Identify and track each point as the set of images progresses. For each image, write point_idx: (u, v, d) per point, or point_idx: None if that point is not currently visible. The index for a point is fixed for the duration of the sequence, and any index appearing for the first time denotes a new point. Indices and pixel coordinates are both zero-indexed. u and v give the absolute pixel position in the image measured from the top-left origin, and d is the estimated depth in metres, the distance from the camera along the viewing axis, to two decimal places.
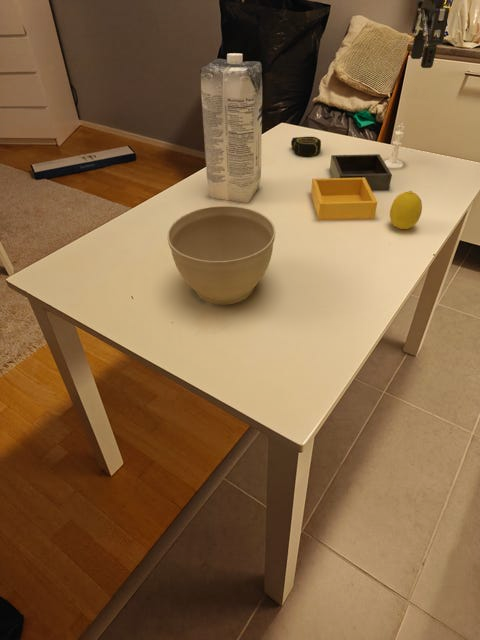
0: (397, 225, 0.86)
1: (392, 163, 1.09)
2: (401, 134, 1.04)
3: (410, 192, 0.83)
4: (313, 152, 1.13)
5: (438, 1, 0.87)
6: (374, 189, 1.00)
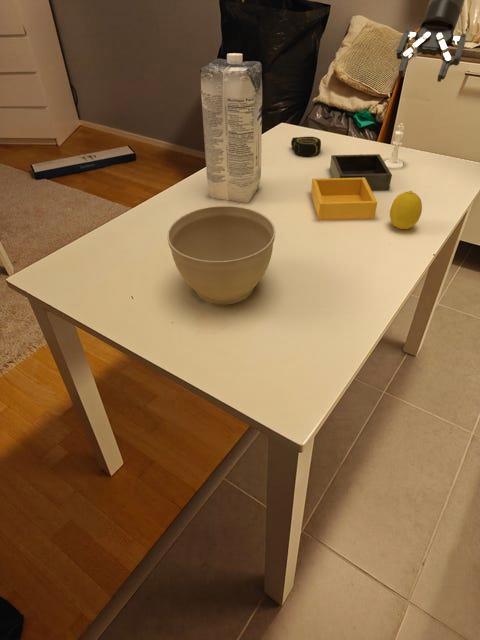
0: (397, 225, 0.86)
1: (392, 163, 1.09)
2: (401, 134, 1.04)
3: (410, 192, 0.83)
4: (313, 152, 1.13)
5: None
6: (374, 189, 1.00)
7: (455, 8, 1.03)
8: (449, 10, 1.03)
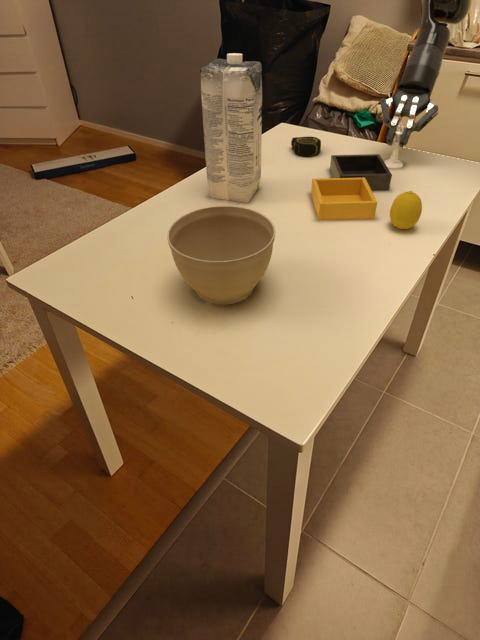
0: (397, 225, 0.86)
1: (392, 163, 1.09)
2: (401, 134, 1.04)
3: (410, 192, 0.83)
4: (313, 152, 1.13)
5: None
6: (374, 189, 1.00)
7: (431, 72, 1.01)
8: (425, 74, 1.01)
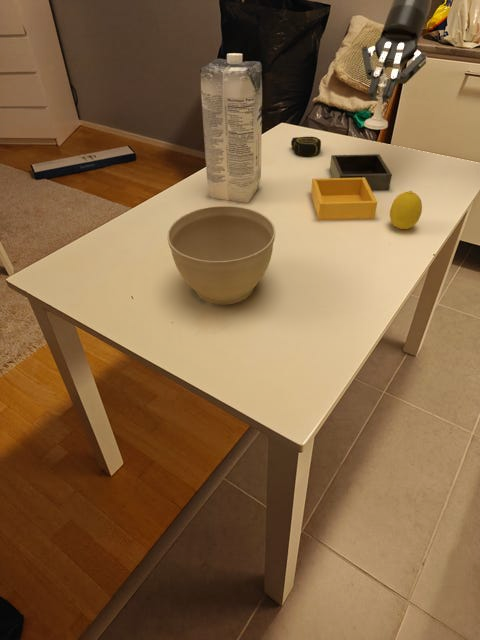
0: (397, 225, 0.86)
1: (375, 121, 0.96)
2: (384, 86, 0.92)
3: (410, 192, 0.83)
4: (313, 152, 1.13)
5: None
6: (374, 189, 1.00)
7: (419, 14, 0.89)
8: (411, 17, 0.89)
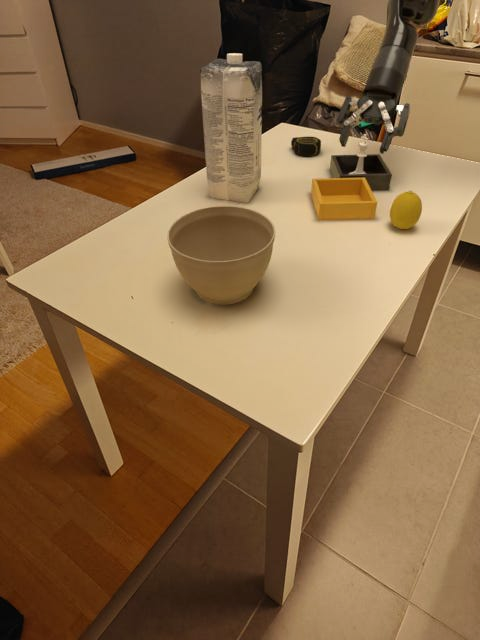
0: (397, 225, 0.86)
1: None
2: (365, 146, 0.98)
3: (410, 192, 0.83)
4: (313, 152, 1.13)
5: None
6: (374, 189, 1.00)
7: (398, 76, 0.94)
8: (391, 78, 0.94)
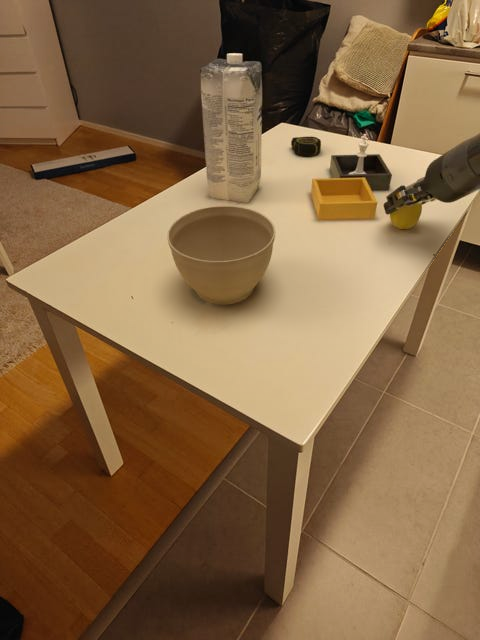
0: (397, 225, 0.86)
1: None
2: (365, 146, 0.98)
3: None
4: (313, 152, 1.13)
5: None
6: (374, 189, 1.00)
7: (439, 160, 0.71)
8: (438, 158, 0.73)
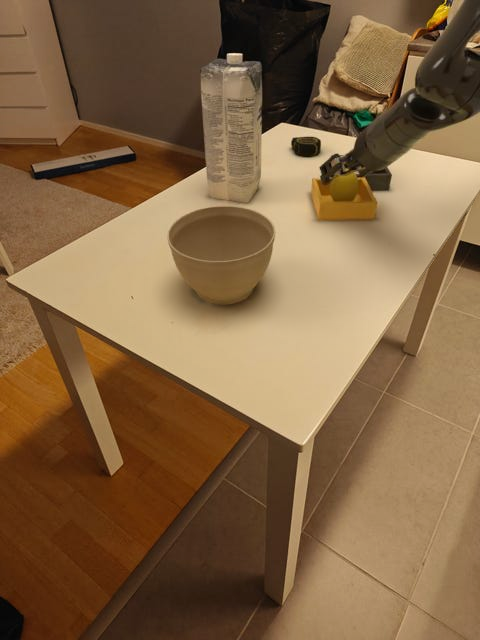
0: (336, 201, 0.92)
1: None
2: None
3: (346, 169, 0.89)
4: (313, 152, 1.13)
5: None
6: (374, 189, 1.00)
7: (365, 130, 0.77)
8: (365, 128, 0.78)
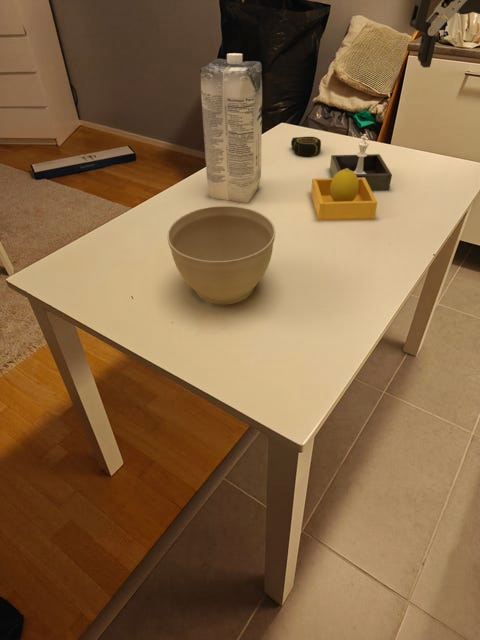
0: (336, 201, 0.92)
1: None
2: (365, 146, 0.98)
3: (346, 169, 0.89)
4: (313, 152, 1.13)
5: None
6: (374, 189, 1.00)
7: None
8: None
